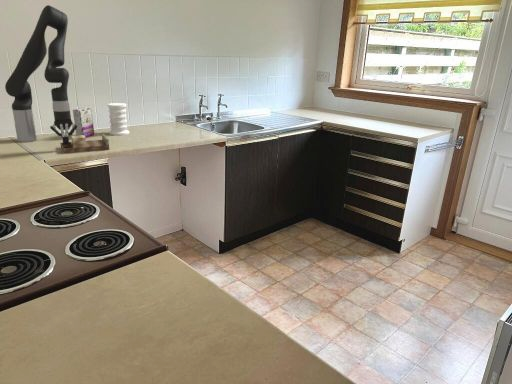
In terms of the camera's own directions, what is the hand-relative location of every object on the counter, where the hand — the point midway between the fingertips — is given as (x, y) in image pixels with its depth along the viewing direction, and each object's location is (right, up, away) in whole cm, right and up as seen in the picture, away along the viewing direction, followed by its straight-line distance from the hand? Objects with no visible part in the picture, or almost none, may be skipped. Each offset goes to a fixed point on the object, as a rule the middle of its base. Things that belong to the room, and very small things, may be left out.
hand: (66, 143), depth 200 cm
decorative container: (+13, +11, +42) cm, 46 cm away
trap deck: (+7, -2, +5) cm, 9 cm away
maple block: (+5, 0, +3) cm, 6 cm away
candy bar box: (-4, +8, +31) cm, 33 cm away
